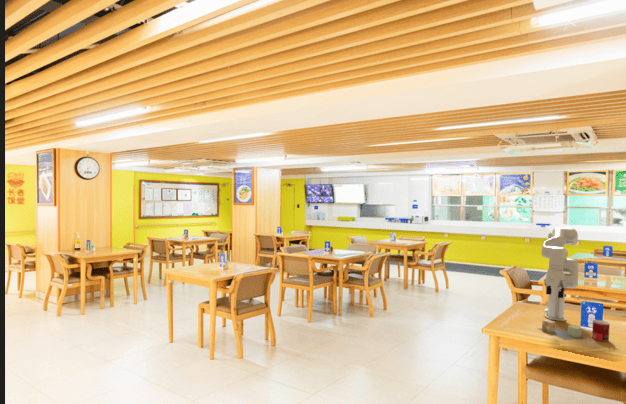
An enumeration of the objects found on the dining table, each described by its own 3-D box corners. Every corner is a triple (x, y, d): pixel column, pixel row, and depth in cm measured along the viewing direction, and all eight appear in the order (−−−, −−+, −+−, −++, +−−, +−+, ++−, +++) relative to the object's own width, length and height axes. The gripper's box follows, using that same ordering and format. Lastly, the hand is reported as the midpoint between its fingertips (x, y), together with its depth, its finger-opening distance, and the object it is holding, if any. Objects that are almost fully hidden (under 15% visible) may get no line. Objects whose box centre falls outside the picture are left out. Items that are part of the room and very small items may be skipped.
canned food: (605, 343, 231) (606, 324, 231) (589, 339, 238) (590, 320, 238) (610, 341, 236) (611, 322, 236) (595, 337, 242) (595, 319, 242)
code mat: (536, 329, 253) (536, 328, 253) (556, 327, 258) (556, 327, 258) (565, 340, 234) (565, 339, 234) (586, 338, 239) (586, 337, 239)
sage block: (567, 334, 244) (567, 326, 244) (573, 333, 246) (574, 325, 246) (575, 337, 240) (575, 328, 240) (581, 336, 241) (581, 328, 241)
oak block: (541, 329, 251) (542, 320, 251) (548, 329, 253) (548, 319, 253) (548, 332, 246) (549, 322, 246) (555, 331, 248) (555, 322, 248)
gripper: (540, 265, 256) (538, 292, 256) (561, 270, 239) (560, 299, 239) (550, 266, 258) (549, 293, 257) (572, 270, 241) (571, 299, 240)
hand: (554, 296), depth 248 cm, fingers open, 9 cm apart
